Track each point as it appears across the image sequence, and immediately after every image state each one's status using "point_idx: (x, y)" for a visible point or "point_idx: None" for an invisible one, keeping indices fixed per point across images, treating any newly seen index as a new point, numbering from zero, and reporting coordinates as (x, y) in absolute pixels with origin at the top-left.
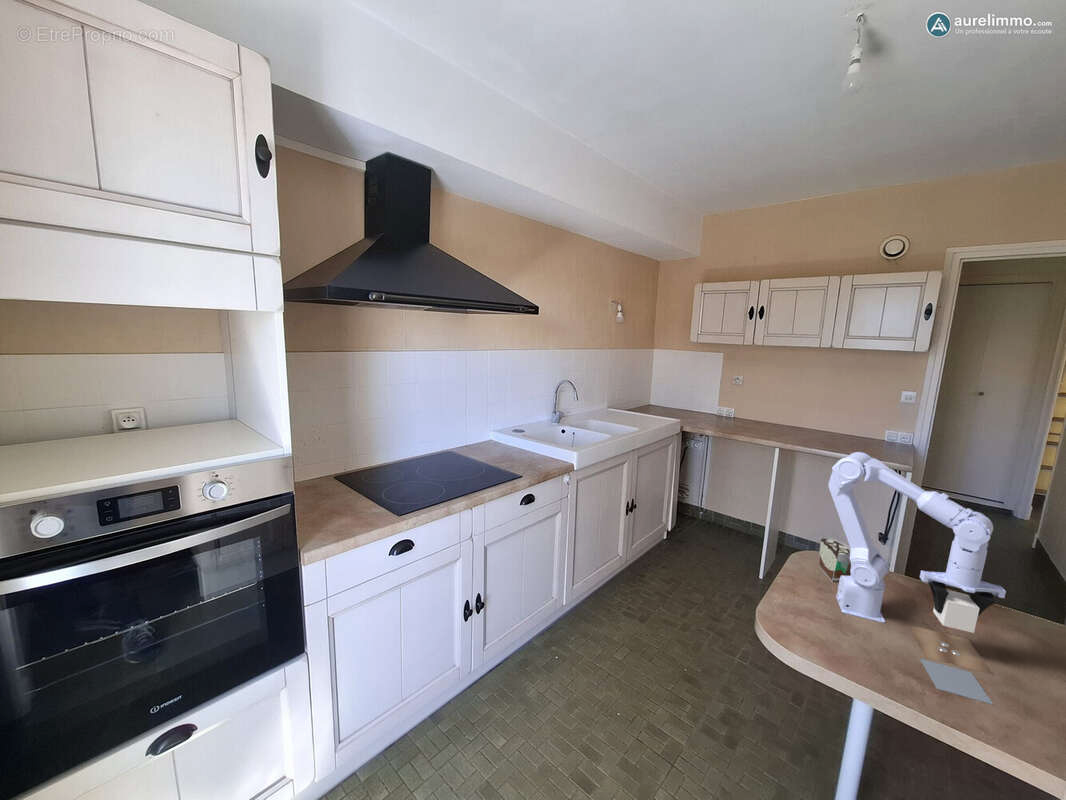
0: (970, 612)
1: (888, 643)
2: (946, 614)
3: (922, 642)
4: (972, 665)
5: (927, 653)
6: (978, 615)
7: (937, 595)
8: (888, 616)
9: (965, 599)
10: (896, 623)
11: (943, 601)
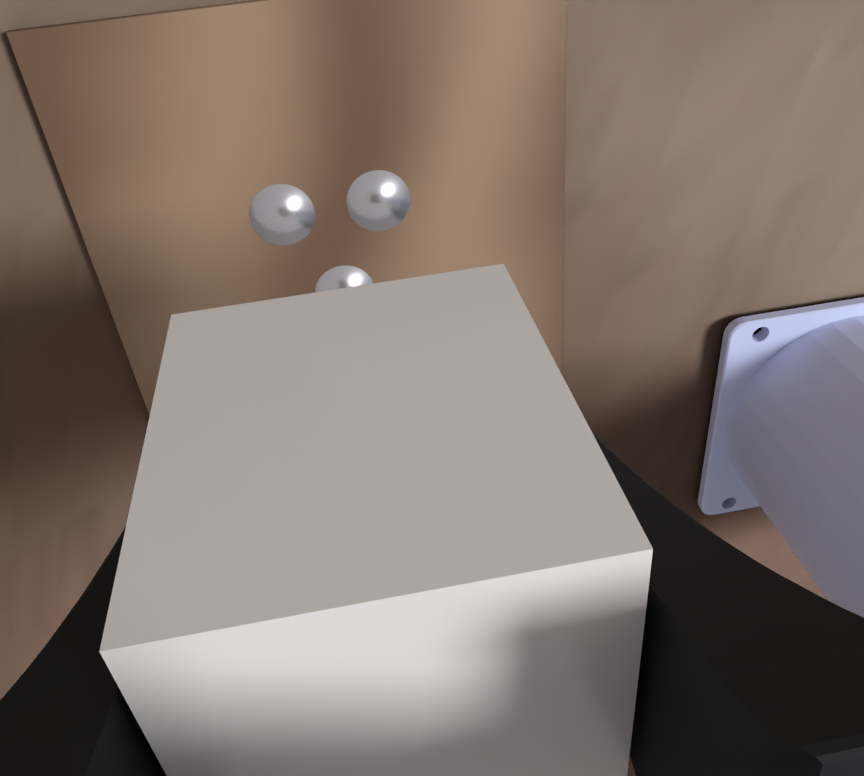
0: (244, 516)
1: (826, 12)
2: (541, 369)
3: (521, 206)
4: (176, 79)
5: (530, 41)
6: (111, 560)
7: (834, 607)
8: (653, 430)
9: (298, 774)
10: (628, 373)
11: (653, 552)
